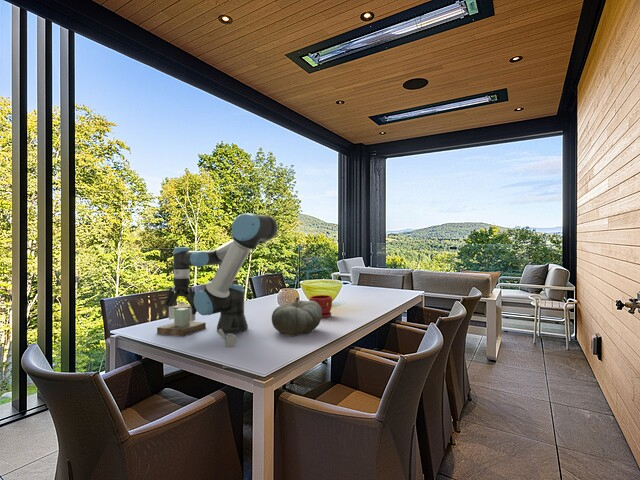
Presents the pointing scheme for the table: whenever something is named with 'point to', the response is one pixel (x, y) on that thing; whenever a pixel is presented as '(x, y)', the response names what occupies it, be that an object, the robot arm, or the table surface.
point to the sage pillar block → (182, 317)
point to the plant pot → (323, 304)
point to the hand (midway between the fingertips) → (182, 320)
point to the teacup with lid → (182, 305)
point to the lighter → (228, 339)
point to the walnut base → (181, 329)
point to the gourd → (297, 317)
